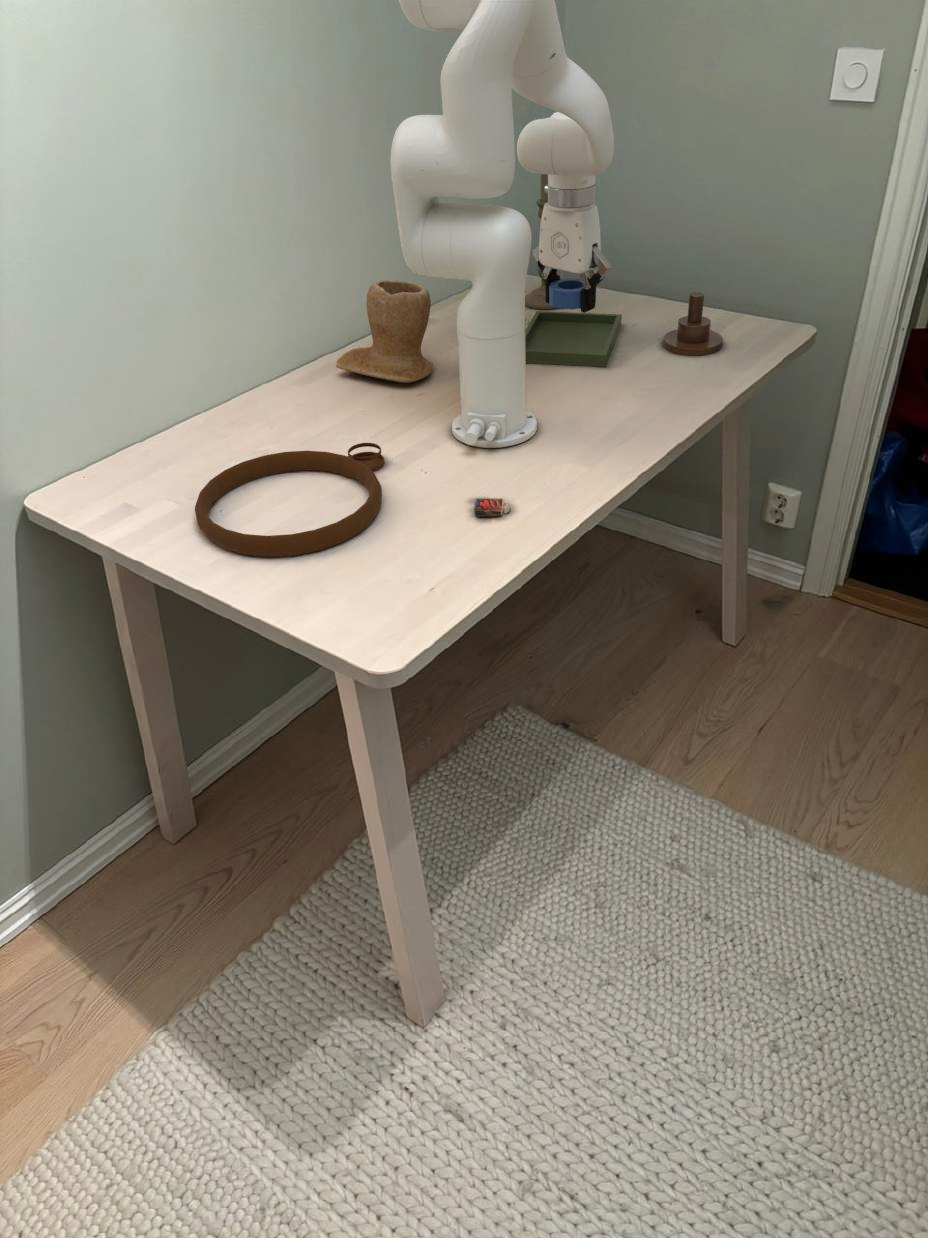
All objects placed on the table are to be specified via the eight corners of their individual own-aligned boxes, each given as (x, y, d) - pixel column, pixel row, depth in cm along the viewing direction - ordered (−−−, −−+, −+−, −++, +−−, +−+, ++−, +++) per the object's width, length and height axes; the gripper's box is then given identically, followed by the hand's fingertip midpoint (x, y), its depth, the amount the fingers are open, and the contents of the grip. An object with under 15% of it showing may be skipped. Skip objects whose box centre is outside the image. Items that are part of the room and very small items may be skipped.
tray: (605, 367, 166) (606, 354, 165) (513, 362, 170) (513, 350, 169) (621, 325, 182) (621, 314, 180) (536, 321, 185) (536, 310, 184)
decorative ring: (444, 456, 136) (293, 559, 117) (445, 476, 138) (296, 580, 119) (310, 419, 148) (152, 506, 129) (313, 437, 150) (158, 526, 131)
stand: (720, 357, 167) (726, 305, 162) (660, 354, 170) (663, 303, 165) (723, 335, 175) (729, 285, 170) (665, 333, 178) (669, 283, 172)
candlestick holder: (546, 313, 189) (547, 139, 171) (513, 302, 195) (510, 133, 177) (580, 300, 193) (583, 130, 176) (546, 290, 199) (546, 124, 182)
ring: (587, 310, 168) (587, 292, 167) (546, 308, 170) (546, 290, 168) (593, 295, 174) (594, 278, 172) (553, 294, 175) (553, 277, 174)
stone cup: (449, 368, 169) (444, 278, 161) (408, 393, 161) (401, 300, 153) (378, 353, 176) (369, 266, 168) (335, 377, 168) (324, 287, 160)
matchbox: (476, 519, 128) (476, 516, 128) (469, 500, 132) (469, 497, 132) (512, 515, 128) (512, 511, 128) (504, 496, 132) (504, 492, 132)
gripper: (515, 193, 165) (517, 301, 175) (599, 209, 154) (596, 322, 165) (545, 183, 169) (546, 289, 179) (629, 198, 159) (624, 309, 169)
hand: (570, 304), depth 172 cm, fingers closed on ring, 7 cm apart
